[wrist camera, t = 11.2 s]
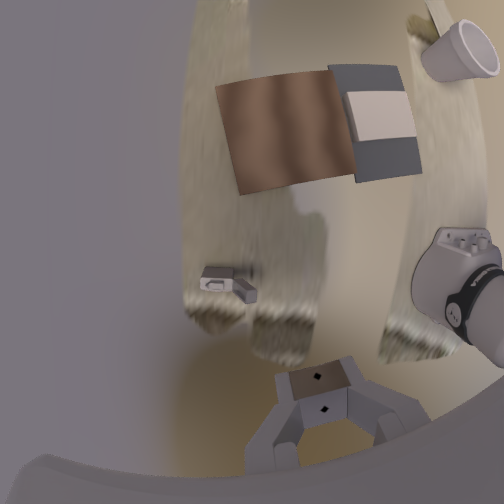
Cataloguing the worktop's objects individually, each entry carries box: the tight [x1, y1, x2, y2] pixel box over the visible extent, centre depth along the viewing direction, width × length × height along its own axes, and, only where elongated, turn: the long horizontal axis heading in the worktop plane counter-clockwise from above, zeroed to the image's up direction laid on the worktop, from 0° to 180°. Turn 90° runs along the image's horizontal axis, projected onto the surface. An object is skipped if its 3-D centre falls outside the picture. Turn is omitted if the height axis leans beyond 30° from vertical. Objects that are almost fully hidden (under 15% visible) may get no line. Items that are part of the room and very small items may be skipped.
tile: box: [341, 91, 417, 143], centre depth 32 cm, size 10×7×2 cm
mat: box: [328, 64, 422, 183], centre depth 33 cm, size 12×18×1 cm
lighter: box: [200, 267, 257, 304], centre depth 35 cm, size 7×2×8 cm, turn 87°
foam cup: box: [421, 19, 500, 82], centre depth 24 cm, size 10×9×13 cm
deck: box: [215, 70, 357, 196], centre depth 33 cm, size 16×15×2 cm
